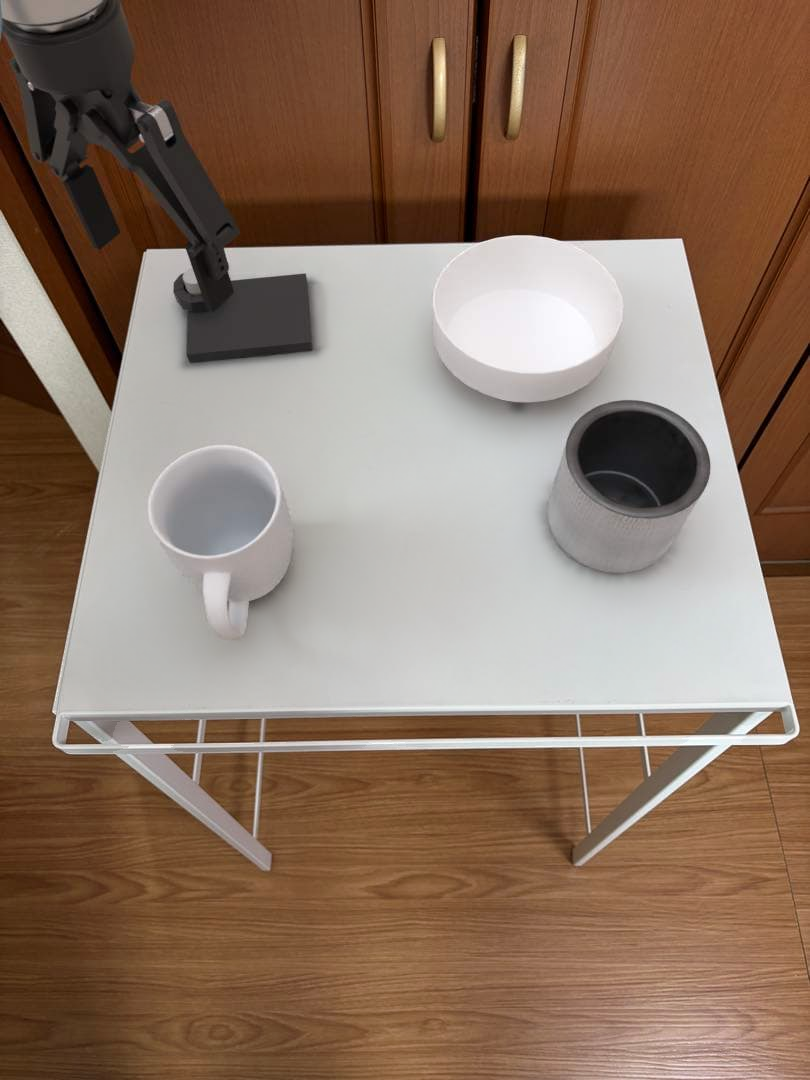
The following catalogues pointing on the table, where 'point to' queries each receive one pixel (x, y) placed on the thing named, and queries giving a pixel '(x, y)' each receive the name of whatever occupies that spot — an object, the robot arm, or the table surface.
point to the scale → (249, 319)
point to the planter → (626, 485)
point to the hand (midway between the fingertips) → (162, 269)
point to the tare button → (191, 282)
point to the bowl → (525, 317)
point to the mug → (223, 529)
